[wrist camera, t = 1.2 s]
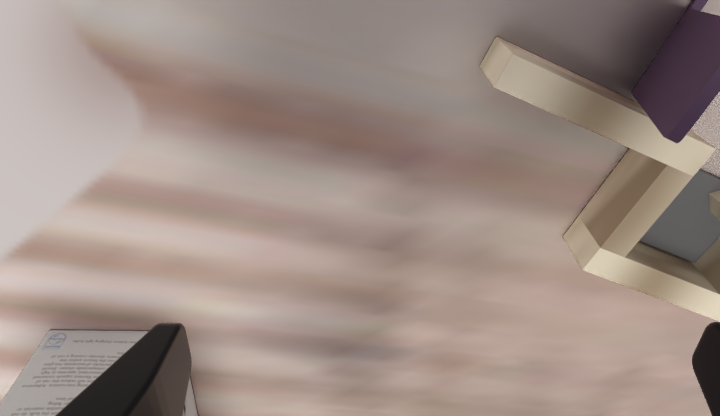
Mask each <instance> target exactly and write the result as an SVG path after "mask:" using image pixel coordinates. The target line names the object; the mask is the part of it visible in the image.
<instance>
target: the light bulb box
mask: <svg viewBox="0 0 720 416" xmlns="http://www.w3.org/2000/svg"><path fill="white" fill-rule="evenodd" d="M147 332H148V331H88V330H50V331H48V333H47V334H46V336H45V337H44V339H43V340H42V342H41V343H40V345H39V347H38V348H37V349H36V351H35V352H34V354H33V355H32V357H31V358H30V360H29V361H28V363H27V364H26V366H25V368H24V369H23V370H22V372H21V373H20V375H19V376H18V378H17V379H16V381H15V382H14V384H13V385H12V387H11V388H10V390H9V391H8V393H7V394H6V395H5V397H4V398H3V400H2V401H1V403H0V416H55V415H56V414H57V413H59V412H60V411H61V410H62V409H63V408H64V407H65V406H66V405H67V404H69V403H70V402H71V401H72V400H73V399H74V398H75V397H76V396H77V395H79V394H80V393H81V392H82V391H83V390H84V389H85V388H86V387H87V386H89V385H90V384H91V383H92V382H93V381H94V380H95V379H96V378H97V377H99V376H100V375H101V374H102V373H103V372H104V371H105V370H106V369H107V368H108V367H110V366H111V365H112V364H113V363H114V362H115V361H116V360H117V359H118V358H120V357H121V356H122V355H123V354H124V353H125V352H126V351H127V350H128V349H130V348H131V347H132V346H133V345H134V344H135V343H136V342H137V341H138V340H140V339H141V338H142V337H143V336H144V335H145V334H146V333H147ZM182 416H198V414H197V409H196V404H195V399H194V394H193V389H192V385H191V380H190V378H189V383H188V388H187V394H186V399H185V404H184V409H183V415H182Z"/></svg>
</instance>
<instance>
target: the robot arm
mask: <svg viewBox="0 0 720 416" xmlns="http://www.w3.org/2000/svg"><path fill="white" fill-rule="evenodd" d="M692 365H693V369H694V372H695V375H696V377H697V380H698V382H699V384H700V387H701V389H702V392H703V394H704V397H705V399H706V402H707V404H708V406H709V409H710V411H711V414H712V416H720V322H713V323H710V324H709V325H708V326H707V327H706V328H705V330H704V333H703V335H702V337H701V339H700V341H699V343H698V345H697V347H696V349H695V351H694V354H693V357H692ZM190 373H191V354H190V349H189V345H188V340H187V335H186V331H185V328H184V326H183V325H182V324H180V323H159V324H157V325H155V326H154V327H153V328H152V329H151V330H150V331H148V332H147V333H146V334H145V335H144V336H143V337H142V338H141V339H140V340H138V341H137V342H136V343H135V344H134V345H133V346H132V347H131V348H130V349H128V350H127V351H126V352H125V353H124V354H123V355H122V356H121V357H120V358H118V359H117V360H116V361H115V362H114V363H113V364H112V365H111V366H110V367H108V368H107V369H106V370H105V371H104V372H103V373H102V374H101V375H100V376H99V377H97V378H96V379H95V380H94V381H93V382H92V383H91V384H90V385H89V386H87V387H86V388H85V389H84V390H83V391H82V392H81V393H80V394H79V395H77V396H76V397H75V398H74V399H73V400H72V401H71V402H70V403H69V404H67V405H66V406H65V407H64V408H63V409H62V410H61V411H60V412H59V413H57V414H56V415H55V416H182V415H183V409H184V404H185V399H186V394H187V388H188V383H189V378H190Z"/></svg>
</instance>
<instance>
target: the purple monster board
mask: <svg viewBox="0 0 720 416" xmlns="http://www.w3.org/2000/svg"><path fill="white" fill-rule="evenodd" d="M707 1H708V0H693V2H692V3H691V5H690V6H689V8H688V9H687V11H686V12H685V14H684V15H683V16H682V18H681V19H680V21H679V22H678V24H677V25H676V27H675V28H674V30H673V31H672V33H671V34H670V36H669V37H668V39H667V40H666V42H665V43H664V45H663V46H662V47H661V49H660V50H659V52H658V53H657V55H656V56H655V58H654V59H653V61H652V62H651V64H650V65H649V67H648V68H647V70H646V71H645V73H644V74H643V75H642V77H641V78H640V80H639V81H638V83H637V84H636V86H635V87H634V89H633V90H632V94H633V96H634V97H635V99H636V100H637V101H638V103H639V104H640V105H641V107H642V108H643V110H644V111H645V112H646V114H647V115H648V116H649V118H650V119H651V121H652V122H653V123H654V125H655V126H656V127H657V129H658V130H659V131H660V133H661V134H662V136H663V137H664V138H666V139H669V140H671V141H673V142H675V143H679V142H680V141H681V140H682V139H683V138H684V137H685V136H686V134H687V133H688V132H689V130H690V129H691V128H692V126H693V125H694V124H695V123H696V121H697V120H698V119H699V117H700V116H701V115H702V113H703V112H704V111H705V109H706V108H707V107H708V105H709V104H710V103H711V102H712V100H713V99H714V98H715V96H716V95H717V94H718V92H719V91H720V16H717V15H713V14H709V13H705V12H701V10H702V8H703V7H704V5H705V4H706V2H707Z"/></svg>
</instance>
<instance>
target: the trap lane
mask: <svg viewBox="0 0 720 416" xmlns="http://www.w3.org/2000/svg"><path fill="white" fill-rule="evenodd" d="M479 67H480V68H481V70H482V71H483V72H484V74H485V75H486V77H487V78H488V80H489V81H490V82H491V84H492V85H493V87H494V88H496V89H498V90H501V91H503V92H505V93H507V94H510V95H512V96H514V97H516V98H518V99H521V100H523V101H525V102H527V103H530V104H532V105H534V106H536V107H539V108H541V109H543V110H545V111H548V112H550V113H552V114H554V115H557V116H559V117H561V118H563V119H566V120H568V121H570V122H572V123H575V124H577V125H579V126H581V127H584V128H586V129H588V130H590V131H592V132H595V133H597V134H599V135H601V136H604V137H606V138H608V139H610V140H613V141H615V142H617V143H619V144H622V145H624V146H626V147H628V148H630V149H629V150H628V151H627V152H626V154H625V155H624V156H623V158H622V159H621V160H620V162H619V163H618V164H617V166H616V167H615V168H614V170H613V171H612V172H611V174H610V175H609V176H608V178H607V179H606V180H605V182H604V183H603V184H602V186H601V187H600V188H599V190H598V191H597V192H596V193H595V195H594V196H593V197H592V199H591V200H590V201H589V203H588V204H587V205H586V207H585V208H584V209H583V211H582V212H581V213H580V215H579V216H578V217H577V219H576V220H575V221H574V223H573V224H572V225H571V227H570V228H569V229H568V230H567V232H566V233H565V234H564V236H563V238H564V240H565V242H566V243H567V245H568V247H569V248H570V250H571V252H572V253H573V255H574V257H575V259H576V260H577V262H578V264H579V265H580V267H581V269H582V270H584V271H586V272H589V273H592V274H594V275H597V276H600V277H602V278H605V279H607V280H610V281H613V282H615V283H618V284H621V285H623V286H626V287H629V288H631V289H634V290H637V291H639V292H642V293H645V294H647V295H650V296H653V297H655V298H658V299H661V300H663V301H666V302H669V303H671V304H674V305H677V306H679V307H682V308H685V309H687V310H690V311H693V312H695V313H698V314H701V315H703V316H706V317H709V318H711V319H714V320H717V321H719V322H720V237H719V238H718V239H717V240H716V241H715V242H714V243H713V244H712V245H711V246H710V247H709V248H708V249H707V250H706V252H705V253H704V254H703V255H702V256H701V257H700V258H699V259H698V260H697V261H696V262H695V263H694V262H691V261H689V260H686V259H684V258H681V257H679V256H676V255H674V254H671V253H669V252H666V251H664V250H661V249H659V248H656V247H654V246H651V245H649V244H646V243H644V242H641V241H639V240H640V239H641V238H642V237H643V235H644V234H645V233H646V232H647V231H648V229H649V228H650V227H651V226H652V225H653V224H654V222H655V221H656V220H657V219H658V218H659V216H660V215H661V214H662V213H663V212H664V211H665V209H666V208H667V207H668V206H669V205H670V203H671V202H672V201H673V200H674V199H675V198H676V196H677V195H678V194H679V193H680V192H681V191H682V189H683V188H684V187H685V186H686V185H687V183H688V182H689V181H690V180H691V179H692V178H693V176H694V175H695V174H696V173H697V172H698V170H699V169H700V168H701V167H702V166H703V165H704V163H705V162H706V161H707V160H708V159H709V157H710V156H711V155H712V154H713V153H714V152H715V150H716V148H714V147H713V146H712V145H710V144H709V143H707V142H706V141H705V140H703V139H702V138H701V137H699V136H698V135H696V134H695V133H694V132H692V131H691V130H689V132H688V133H687V134H686V136H685V137H684V138H683V139H682V140H681V141H680V142H679V143H675V142H673V141H671V140H669V139H666V138H664V137H663V136H662V134H661V133H660V131H659V130H658V129H657V127H656V126H655V125H654V123H653V122H652V121H651V119H650V118H649V116H648V115H647V114H646V112H645V111H644V110H643V108H642V107H641V105H640V104H639V103H637V102H635V101H633V100H630V99H628V98H626V97H624V96H622V95H620V94H618V93H616V92H613V91H611V90H609V89H607V88H605V87H603V86H601V85H599V84H596V83H594V82H592V81H590V80H588V79H586V78H584V77H582V76H579V75H577V74H575V73H573V72H571V71H569V70H567V69H565V68H562V67H560V66H558V65H556V64H554V63H552V62H550V61H548V60H545V59H543V58H541V57H539V56H537V55H535V54H533V53H531V52H528V51H526V50H524V49H522V48H520V47H518V46H516V45H514V44H511V43H509V42H507V41H505V40H503V39H501V38H499V37H497V36H496V37H495V39H494V41H493V43H492V45H491V47H490V48H489V50H488V52H487V54H486V56H485V57H484V59H483V61H482V63H481V65H480V66H479ZM709 200H710V212H711V213H712V214H713V215H714V216H715V217H716V218H717V219H718V220H719V221H720V190H718V191H715V192H712V193H709Z"/></svg>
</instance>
